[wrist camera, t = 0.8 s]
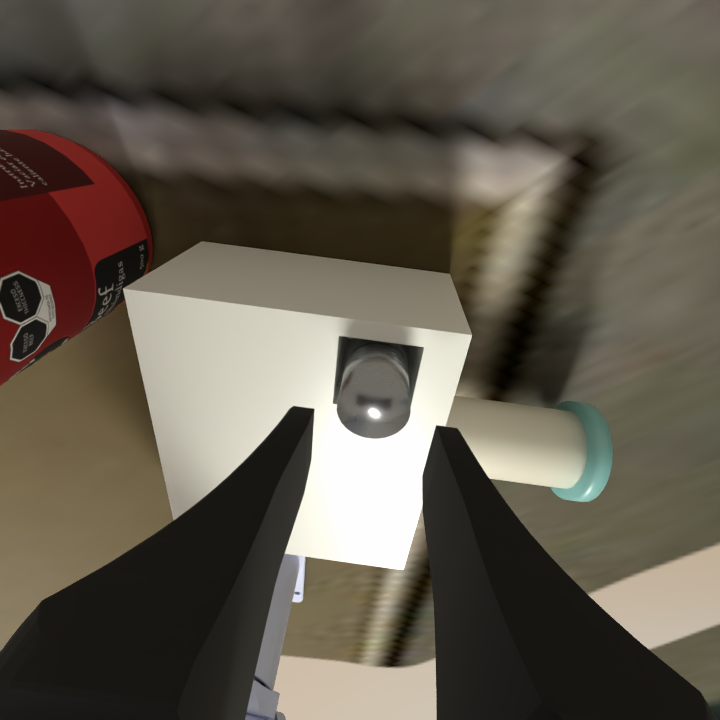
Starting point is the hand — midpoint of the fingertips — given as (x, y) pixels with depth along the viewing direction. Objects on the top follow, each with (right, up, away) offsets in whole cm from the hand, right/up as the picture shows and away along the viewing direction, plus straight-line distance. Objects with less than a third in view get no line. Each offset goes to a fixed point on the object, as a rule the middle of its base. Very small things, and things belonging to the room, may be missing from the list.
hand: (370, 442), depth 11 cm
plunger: (0, +3, +5) cm, 5 cm away
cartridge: (+3, 0, +10) cm, 10 cm away
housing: (-3, +1, +11) cm, 11 cm away
